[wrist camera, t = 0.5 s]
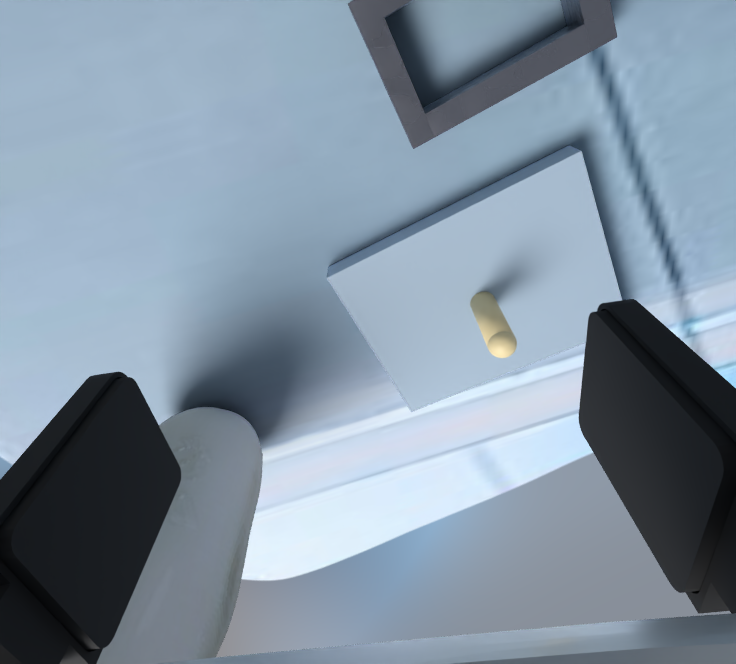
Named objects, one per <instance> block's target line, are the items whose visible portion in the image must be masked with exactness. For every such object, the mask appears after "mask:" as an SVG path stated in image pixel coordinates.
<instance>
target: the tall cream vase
mask: <svg viewBox="0 0 736 664" xmlns="http://www.w3.org/2000/svg"><path fill="white" fill-rule="evenodd" d="M159 427H160V429H161V431H162V433H163V435H164V437H165V439H166V441H167V443H168V444H169V446H170V448H171V450H172V452H173V454H174V456H175V458H176V460H177V462H178V464H179V466H180V468H181V482H180V485H179V487H178V489H177V492H176V494H175V496H174V499H173V501H172V503H171V506H170V508H169V510H168V513H167V515H166V517H165V520H164V522H163V524H162V527H161V529H160V531H159V534H158V536H157V538H156V541H155V543H154V545H153V548H152V550H151V552H150V555H149V557H148V559H147V562H146V564H145V566H144V569H143V571H142V573H141V576H140V578H139V580H138V583H137V585H136V587H135V589H134V592H133V594H132V596H131V599H130V601H129V603H128V606H127V608H126V610H125V613H124V615H123V617H122V620H121V622H120V624H119V627H118V629H117V631H116V634H115V636H114V638H113V640H112V641H111V643H110V644H109V645H108V646H107V647H105V648H103V650H102V652H101V654H100V657H99V659H98V661H97V664H155V663H166V662H176V661H186V660H196V659H206V658H215V657H216V655H217V653H218V651H219V649H220V646H221V645H222V642H223V640H224V638H225V635H226V633H227V630H228V627H229V624H230V621H231V618H232V615H233V611H234V608H235V604H236V601H237V597H238V593H239V588H240V583H241V577H242V572H243V567H244V562H245V557H246V551H247V546H248V540H249V535H250V530H251V526H252V522H253V518H254V514H255V510H256V505H257V501H258V497H259V492H260V486H261V478H262V456H263V454H262V450H261V445H260V441H259V439H258V436H257V434H256V431H255V430H254V428H253V427H252V426H251V424H250V423H249V422H248V421H247V420H246V419H245V418H243V417H242V416H240V415H239V414H237V413H235V412H232V411H228V410H224V409H220V408H214V407H198V408H193V409H189V410H186V411H183V412H181V413H178V414H176V415H174V416H172V417H171V418H169V419H167V420H166V421H164V422H163V423H162V424H161V425H159Z"/></svg>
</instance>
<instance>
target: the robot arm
mask: <svg viewBox="0 0 736 664" xmlns="http://www.w3.org/2000/svg"><path fill="white" fill-rule="evenodd" d="M579 424H580V428H581V431H582V433H583V435H584V437H585V439H586V440H587V442H588V444H589V446H590V447H591V449H592V451H593V452H594V454H595V456H596V457H597V459H598V461H599V463H600V464H601V466H602V468H603V469H604V471H605V473H606V474H607V476H608V478H609V480H610V481H611V483H612V485H613V486H614V488H615V490H616V491H617V493H618V495H619V497H620V498H621V500H622V502H623V503H624V505H625V507H626V509H627V510H628V512H629V514H630V516H631V517H632V519H633V521H634V522H635V524H636V526H637V527H638V529H639V531H640V533H641V534H642V536H643V538H644V539H645V541H646V543H647V544H648V546H649V548H650V549H651V551H652V553H653V555H654V556H655V558H656V560H657V562H658V563H659V565H660V567H661V568H662V570H663V572H664V573H665V575H666V577H667V579H668V580H669V582H670V584H671V585H672V586H673V588H674V589H675V590H676V591H678V592H680V593H681V592H686V594H687V595H688V597H689V599H690V600H691V602H692V604H693V605H694V607H695V608H696V610H697V612H698V613H709V612H720V611H730V612H731V613H732V614H719V615H705V616H690V617H676V618H661V619H647V620H632V621H618V622H605V623H594V624H583V625H570V626H559V627H548V628H536V629H525V630H514V631H502V632H490V633H480V634H467V635H456V636H444V637H433V638H422V639H411V640H400V641H389V642H378V643H368V644H357V645H345V646H335V647H324V648H313V649H302V650H292V651H281V652H270V653H259V654H250V655H238V656H227V657H217V658H206V659H196V660H186V661H176V662H166V663H155V664H736V388H734V387H733V386H732V385H731V384H730V383H729V382H728V381H727V380H725V379H724V378H723V377H722V376H721V375H720V374H719V373H718V372H716V371H715V370H714V369H713V368H712V367H711V366H710V365H709V364H707V363H706V362H705V361H704V360H703V359H702V358H701V357H699V356H698V355H697V354H696V353H695V352H694V351H693V350H692V349H690V348H689V347H688V346H687V345H686V344H685V343H684V342H683V341H681V340H680V339H679V338H678V337H677V336H676V335H675V334H674V333H672V332H671V331H670V330H669V329H668V328H667V327H666V326H664V325H663V324H662V323H661V322H660V321H659V320H658V319H657V318H655V317H654V316H653V315H652V314H651V313H650V312H649V311H648V310H646V309H645V308H644V307H643V306H642V305H641V304H640V303H638V302H637V301H636V300H634V299H628V300H621V301H614V302H607V303H602V304H600V305H599V307H598V309H597V311H596V312H592V313H590V315H589V318H588V327H587V337H586V347H585V357H584V368H583V378H582V388H581V398H580V409H579ZM180 482H181V468H180V466H179V464H178V462H177V460H176V458H175V456H174V454H173V452H172V450H171V448H170V446H169V444H168V443H167V441H166V439H165V437H164V435H163V433H162V431H161V429H160V427H159V425H158V423H157V421H156V419H155V418H154V416H153V414H152V412H151V410H150V408H149V406H148V404H147V402H146V400H145V398H144V396H143V395H142V393H141V391H140V389H139V387H138V385H137V383H136V382H135V380H134V379H132V378H130V377H127V376H126V375H125V374H124V373H122V372H114V373H107V374H100V375H94V376H90V377H89V378H88V379H87V380H86V381H85V382H84V383H83V384H82V385H81V387H80V388H79V389H78V390H77V391H76V392H75V394H74V395H73V396H72V397H71V398H70V399H69V401H68V402H67V403H66V404H65V405H64V406H63V408H62V409H61V410H60V411H59V412H58V413H57V415H56V416H55V417H54V418H53V419H52V420H51V422H50V423H49V424H48V425H47V426H46V427H45V429H44V430H43V431H42V432H41V433H40V434H39V436H38V437H37V438H36V439H35V440H34V441H33V442H32V444H31V445H30V446H29V447H28V448H27V449H26V451H25V452H24V453H23V454H22V455H21V456H20V458H19V459H18V460H17V461H16V462H15V463H14V465H13V466H12V467H11V468H10V469H9V470H8V472H7V473H6V474H5V475H4V476H3V477H2V479H1V480H0V664H97V661H98V659H99V657H100V654H101V652H102V650H103V648H105V647H107V646H108V645H109V644H110V643H111V641H112V640H113V638H114V636H115V634H116V631H117V629H118V627H119V624H120V622H121V620H122V617H123V615H124V613H125V610H126V608H127V606H128V603H129V601H130V599H131V596H132V594H133V592H134V589H135V587H136V585H137V583H138V580H139V578H140V576H141V573H142V571H143V569H144V566H145V564H146V562H147V559H148V557H149V555H150V552H151V550H152V548H153V545H154V543H155V541H156V538H157V536H158V534H159V531H160V529H161V527H162V524H163V522H164V520H165V517H166V515H167V513H168V510H169V508H170V506H171V503H172V501H173V499H174V496H175V494H176V492H177V489H178V487H179V485H180Z"/></svg>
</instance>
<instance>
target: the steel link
mask: <svg viewBox="0 0 736 664" xmlns="http://www.w3.org/2000/svg"><path fill="white" fill-rule="evenodd" d="M412 1H414V0H353V1H351V2H350V3H348V6H349V8H350V10H351V13H352V15H353V17H354V19H355V22H356V24H357V26H358V28H359V30H360V33H361V35H362V37H363V39H364V41H365V44H366V46H367V48H368V50H369V52H370V55H371V57H372V59H373V61H374V64H375V66H376V68H377V70H378V72H379V75H380V77H381V79H382V81H383V83H384V86H385V88H386V90H387V92H388V95H389V97H390V99H391V101H392V103H393V106H394V108H395V110H396V112H397V114H398V117H399V119H400V121H401V123H402V126H403V128H404V130H405V132H406V134H407V137H408V139H409V141H410V143H411V145H412V147H413V149H414V148H416V147H418V146H420V145H422V144H423V143H425V142H427V141H429V140H431V139H432V138H434V137H436V136H438V135H440V134H442V133H443V132H445V131H447V130H449V129H451V128H453V127H454V126H456V125H458V124H460V123H462V122H463V121H465V120H467V119H469V118H471V117H473V116H474V115H476V114H478V113H480V112H482V111H483V110H485V109H487V108H489V107H491V106H493V105H494V104H496V103H498V102H500V101H502V100H504V99H505V98H507V97H509V96H511V95H513V94H514V93H516V92H518V91H520V90H522V89H524V88H525V87H527V86H529V85H531V84H533V83H535V82H536V81H538V80H540V79H542V78H544V77H545V76H547V75H549V74H551V73H553V72H555V71H556V70H558V69H560V68H562V67H564V66H565V65H567V64H569V63H571V62H573V61H575V60H576V59H578V58H580V57H582V56H584V55H586V54H587V53H589V52H591V51H593V50H595V49H596V48H598V47H600V46H602V45H604V44H606V43H607V42H609V41H611V40H613V39H615V38H617V33H616V28H615V23H614V18H613V14H612V9H611V4H610V0H560V1H561V5H562V9H563V13H564V17H565V21H566V25H567V26H566V27H565V28H563V29H561V30H559V31H557V32H556V33H554V34H552V35H550V36H549V37H547V38H545V39H543V40H542V41H540V42H538V43H536V44H535V45H533V46H531V47H529V48H528V49H526V50H524V51H522V52H521V53H519V54H517V55H515V56H514V57H512V58H510V59H508V60H507V61H505V62H503V63H501V64H500V65H498V66H496V67H494V68H492V69H491V70H489V71H487V72H485V73H484V74H482V75H480V76H478V77H477V78H475V79H473V80H471V81H470V82H468V83H466V84H464V85H463V86H461V87H459V88H457V89H456V90H454V91H452V92H450V93H449V94H447V95H445V96H443V97H442V98H440V99H438V100H436V101H435V102H433V103H431V104H429V105H427V106H426V107H424V108H422V105H421V103H420V101H419V98H418V96H417V94H416V91H415V89H414V87H413V84H412V82H411V79H410V77H409V75H408V72H407V70H406V68H405V65H404V63H403V61H402V58H401V56H400V53H399V51H398V49H397V46H396V44H395V42H394V39H393V37H392V35H391V32H390V30H389V27H388V25H387V23H386V20H385V18H387V17H388V16H390V15H392V14H393V13H395V12H396V11H398V10H400V9H401V8H403V7H404V6H406V5H407V4H409V3H411V2H412Z"/></svg>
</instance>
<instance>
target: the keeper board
mask: <svg viewBox="0 0 736 664" xmlns="http://www.w3.org/2000/svg"><path fill="white" fill-rule="evenodd" d="M327 279H328V281H329V283H330V284H331V286H332V287H333V289H334V290H335V292H336V294H337V295H338V297H339V298H340V300H341V302H342V303H343V305H344V306H345V308H346V309H347V311H348V313H349V314H350V316H351V317H352V319H353V321H354V322H355V324H356V325H357V327H358V328H359V330H360V332H361V333H362V335H363V336H364V338H365V340H366V341H367V343H368V344H369V346H370V347H371V349H372V351H373V352H374V354H375V355H376V357H377V359H378V360H379V362H380V363H381V365H382V366H383V368H384V370H385V371H386V373H387V374H388V376H389V377H390V379H391V381H392V382H393V384H394V385H395V387H396V389H397V390H398V392H399V393H400V395H401V396H402V398H403V400H404V401H405V403H406V404H407V406H408V408H409V409H410V411H411V412H413V411H415V410H418V409H420V408H423V407H425V406H428V405H430V404H433V403H435V402H438V401H440V400H443V399H446V398H448V397H451V396H453V395H456V394H458V393H461V392H463V391H466V390H468V389H471V388H473V387H476V386H478V385H481V384H483V383H486V382H488V381H491V380H493V379H496V378H498V377H501V376H503V375H506V374H508V373H511V372H513V371H516V370H518V369H521V368H523V367H526V366H528V365H531V364H533V363H536V362H539V361H541V360H544V359H546V358H549V357H551V356H554V355H556V354H559V353H561V352H564V351H566V350H569V349H571V348H574V347H576V346H579V345H581V344H584V343H586V337H587V327H588V318H589V315H590V313H592V312H596V311H597V309H598V307H599V305H600V304H602V303H607V302H614V301H621V300H622V298H621V294H620V290H619V287H618V283H617V279H616V276H615V272H614V268H613V265H612V261H611V257H610V254H609V250H608V246H607V243H606V239H605V235H604V232H603V228H602V224H601V221H600V217H599V213H598V210H597V206H596V202H595V199H594V195H593V191H592V187H591V184H590V180H589V176H588V173H587V169H586V165H585V162H584V158H583V154H582V151H581V150H579V149H576V148H574V147H572V146H570V145H568V146H566V147H564V148H562V149H560V150H558V151H557V152H555V153H553V154H551V155H549V156H547V157H545V158H543V159H541V160H539V161H537V162H535V163H533V164H531V165H529V166H527V167H525V168H523V169H521V170H519V171H517V172H515V173H513V174H511V175H509V176H507V177H505V178H503V179H501V180H499V181H497V182H495V183H493V184H491V185H489V186H487V187H485V188H483V189H481V190H479V191H477V192H475V193H473V194H471V195H470V196H468V197H466V198H464V199H462V200H460V201H458V202H456V203H454V204H452V205H450V206H448V207H446V208H444V209H442V210H440V211H438V212H436V213H434V214H432V215H430V216H428V217H426V218H424V219H422V220H420V221H418V222H416V223H414V224H412V225H410V226H408V227H406V228H404V229H402V230H400V231H398V232H396V233H394V234H392V235H390V236H388V237H386V238H384V239H382V240H381V241H379V242H377V243H375V244H373V245H371V246H369V247H367V248H365V249H363V250H361V251H359V252H357V253H355V254H353V255H351V256H349V257H347V258H345V259H343V260H341V261H339V262H337V263H335V264H333V265H331V266H329V267H328V273H327Z"/></svg>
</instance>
